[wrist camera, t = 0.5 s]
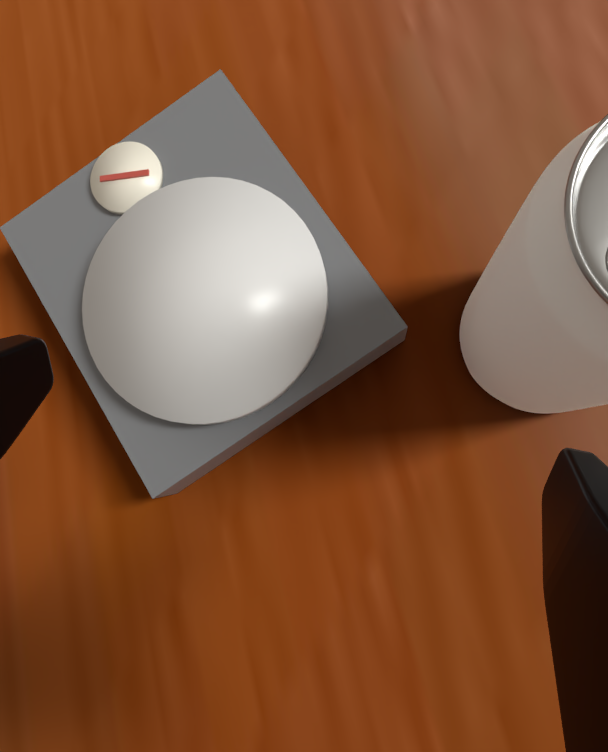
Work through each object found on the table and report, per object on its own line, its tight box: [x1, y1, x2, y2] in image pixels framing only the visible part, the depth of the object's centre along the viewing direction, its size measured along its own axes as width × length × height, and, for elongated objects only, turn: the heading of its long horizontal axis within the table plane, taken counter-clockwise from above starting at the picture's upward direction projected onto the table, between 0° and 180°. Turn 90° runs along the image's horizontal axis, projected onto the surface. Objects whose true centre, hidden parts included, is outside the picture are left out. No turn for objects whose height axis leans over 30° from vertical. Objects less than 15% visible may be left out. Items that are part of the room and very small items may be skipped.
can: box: [459, 114, 608, 414], centre depth 16 cm, size 6×6×12 cm
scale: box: [0, 69, 408, 499], centre depth 22 cm, size 14×12×3 cm
